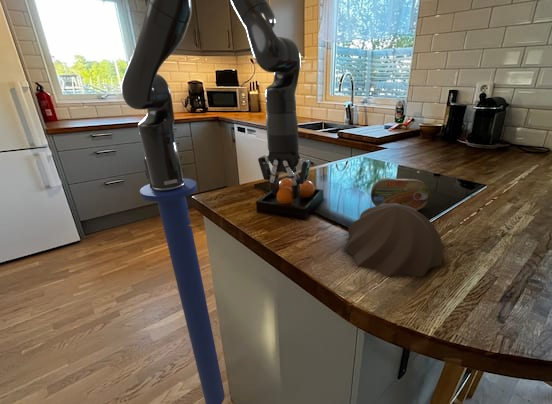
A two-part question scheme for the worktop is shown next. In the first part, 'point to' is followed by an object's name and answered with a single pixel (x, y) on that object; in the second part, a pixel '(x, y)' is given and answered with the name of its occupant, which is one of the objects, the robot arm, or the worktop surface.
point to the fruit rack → (299, 207)
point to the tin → (400, 192)
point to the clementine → (285, 196)
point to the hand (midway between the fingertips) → (285, 196)
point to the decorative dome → (395, 241)
